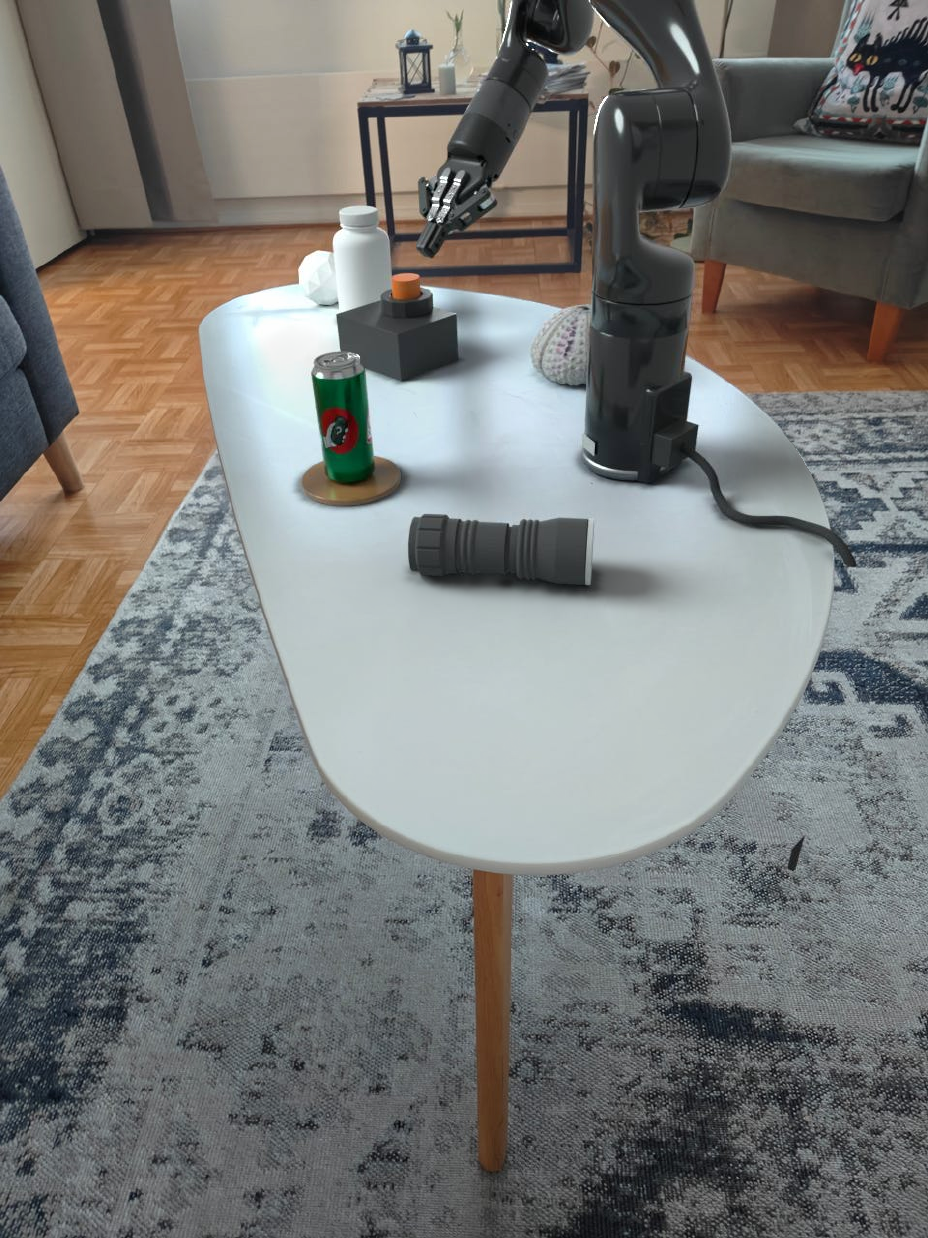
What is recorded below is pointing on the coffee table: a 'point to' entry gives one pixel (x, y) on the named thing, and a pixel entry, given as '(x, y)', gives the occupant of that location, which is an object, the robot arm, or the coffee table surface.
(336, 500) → the coaster
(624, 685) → the coffee table surface
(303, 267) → the geometric ball
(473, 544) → the flashlight
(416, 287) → the button
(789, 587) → the coffee table surface
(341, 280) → the pill bottle
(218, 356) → the coffee table surface
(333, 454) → the soda can
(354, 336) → the push button base
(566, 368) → the sea urchin shell
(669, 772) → the coffee table surface
